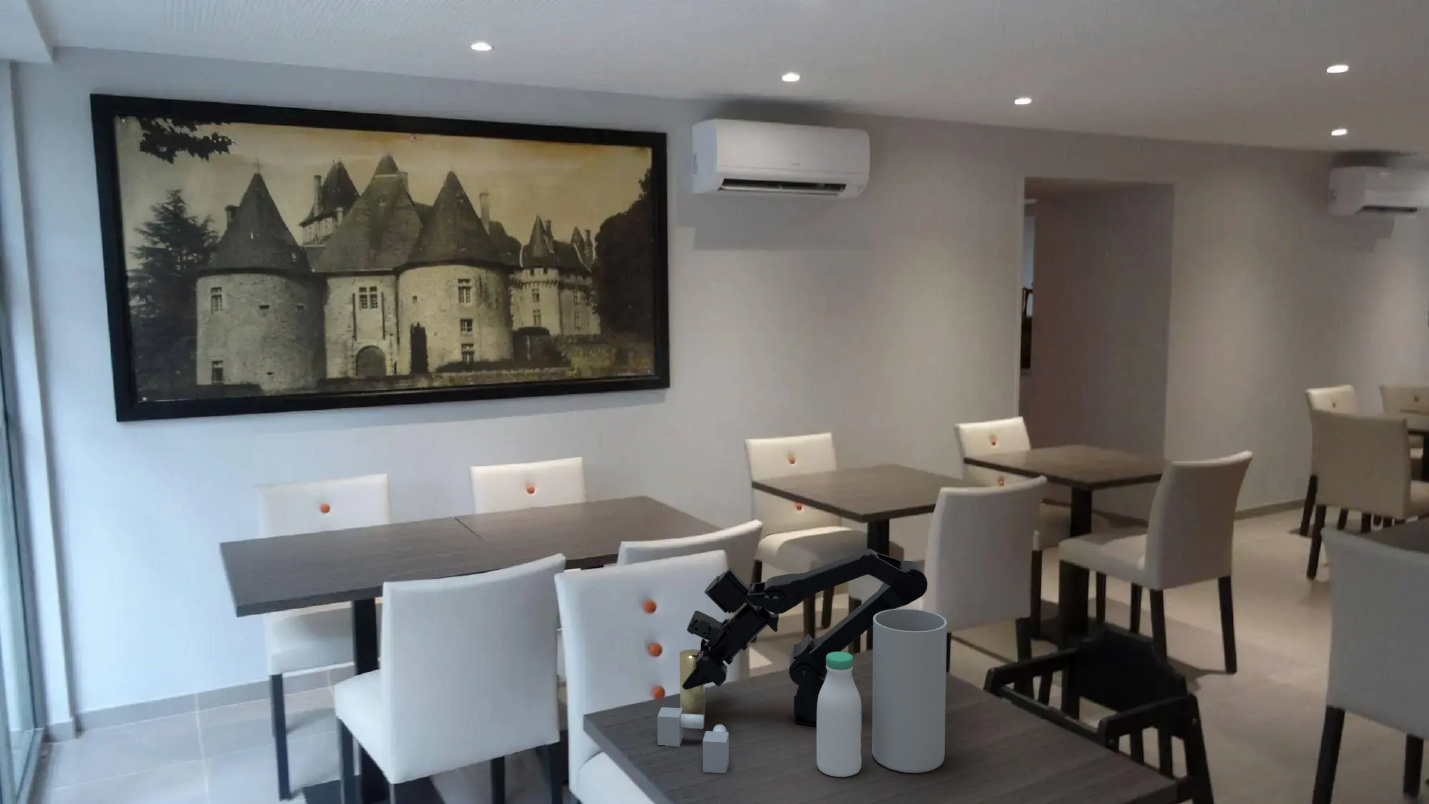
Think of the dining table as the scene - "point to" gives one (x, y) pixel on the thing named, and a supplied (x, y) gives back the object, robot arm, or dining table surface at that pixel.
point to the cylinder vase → (909, 689)
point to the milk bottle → (839, 719)
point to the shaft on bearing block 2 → (716, 750)
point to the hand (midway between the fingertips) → (685, 682)
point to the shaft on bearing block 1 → (675, 725)
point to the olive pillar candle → (695, 696)
